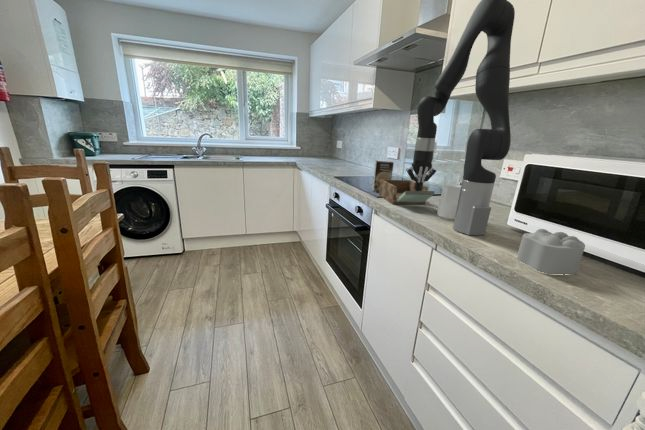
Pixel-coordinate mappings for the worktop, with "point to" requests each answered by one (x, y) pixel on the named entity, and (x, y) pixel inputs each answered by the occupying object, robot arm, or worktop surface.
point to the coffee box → (382, 173)
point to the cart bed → (397, 190)
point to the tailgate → (415, 196)
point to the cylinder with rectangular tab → (448, 202)
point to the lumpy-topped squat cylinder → (551, 252)
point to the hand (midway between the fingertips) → (418, 190)
